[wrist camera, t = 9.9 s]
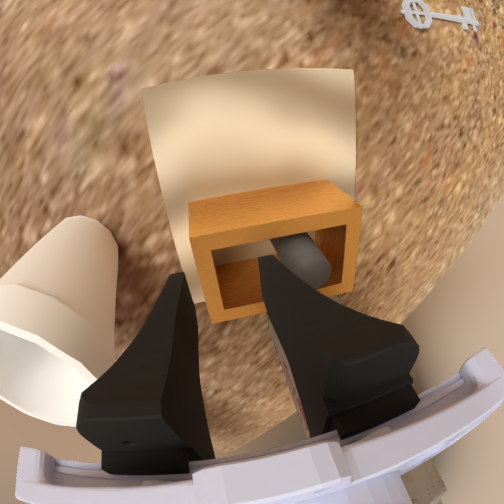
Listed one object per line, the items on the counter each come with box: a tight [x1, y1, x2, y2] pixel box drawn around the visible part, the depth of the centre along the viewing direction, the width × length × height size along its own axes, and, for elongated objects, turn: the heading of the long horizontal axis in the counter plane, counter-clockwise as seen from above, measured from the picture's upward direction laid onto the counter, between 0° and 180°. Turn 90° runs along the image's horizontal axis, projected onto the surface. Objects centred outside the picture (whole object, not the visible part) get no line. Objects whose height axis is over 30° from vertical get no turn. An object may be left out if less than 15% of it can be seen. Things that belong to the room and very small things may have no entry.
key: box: [401, 0, 479, 32], centre depth 15 cm, size 12×1×3 cm
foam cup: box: [0, 215, 118, 427], centre depth 15 cm, size 10×9×13 cm
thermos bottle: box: [268, 295, 447, 504], centre depth 18 cm, size 8×8×28 cm
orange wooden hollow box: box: [188, 180, 362, 323], centre depth 19 cm, size 10×6×5 cm, turn 96°
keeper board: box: [141, 68, 356, 303], centre depth 18 cm, size 17×14×8 cm
